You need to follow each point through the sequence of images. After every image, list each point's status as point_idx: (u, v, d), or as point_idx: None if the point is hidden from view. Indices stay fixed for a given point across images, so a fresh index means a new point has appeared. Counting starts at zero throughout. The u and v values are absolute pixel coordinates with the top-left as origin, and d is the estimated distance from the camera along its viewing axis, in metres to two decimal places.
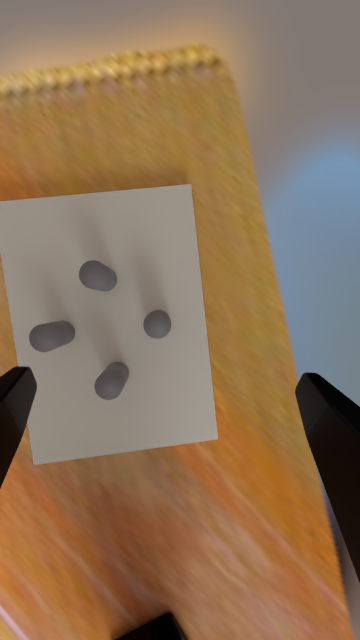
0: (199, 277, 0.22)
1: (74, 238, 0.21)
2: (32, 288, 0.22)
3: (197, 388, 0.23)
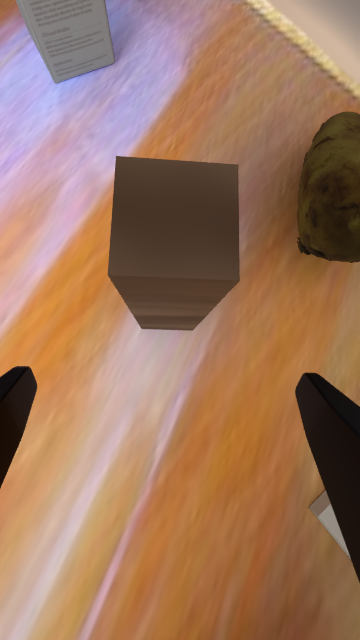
0: None
1: None
2: None
3: None
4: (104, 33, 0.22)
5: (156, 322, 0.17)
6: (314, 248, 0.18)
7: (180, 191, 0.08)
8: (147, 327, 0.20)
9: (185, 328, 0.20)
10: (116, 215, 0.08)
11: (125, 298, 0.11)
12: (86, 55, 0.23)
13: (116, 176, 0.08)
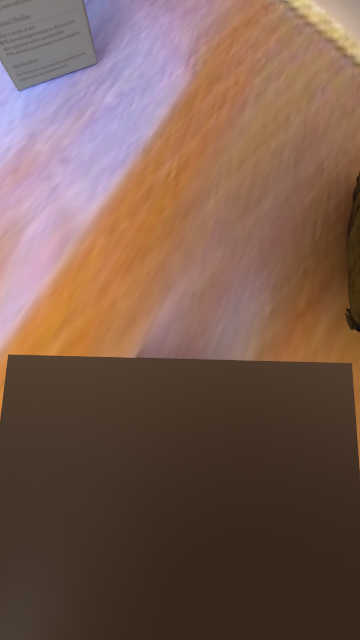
0: None
1: None
2: None
3: None
4: (80, 23, 0.16)
5: None
6: None
7: (193, 460, 0.03)
8: None
9: None
10: None
11: None
12: (57, 53, 0.17)
13: (6, 421, 0.03)
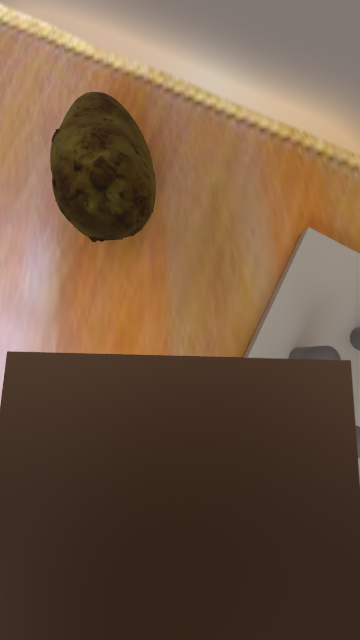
0: None
1: (355, 291, 0.23)
2: (298, 307, 0.22)
3: None
4: None
5: None
6: (93, 236, 0.19)
7: (191, 457, 0.03)
8: None
9: None
10: None
11: None
12: None
13: (4, 418, 0.03)
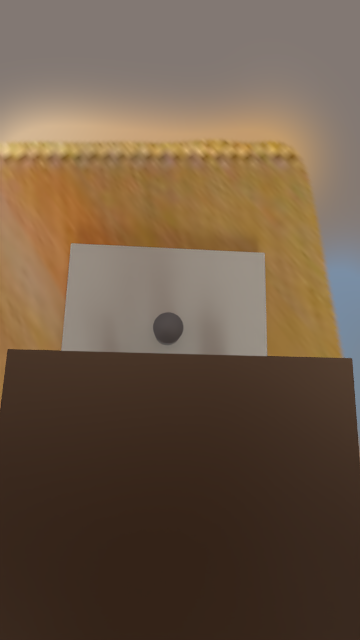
0: (265, 344, 0.21)
1: (143, 287, 0.21)
2: (90, 331, 0.20)
3: None
4: None
5: None
6: None
7: (192, 455, 0.03)
8: None
9: None
10: None
11: None
12: None
13: (5, 416, 0.03)
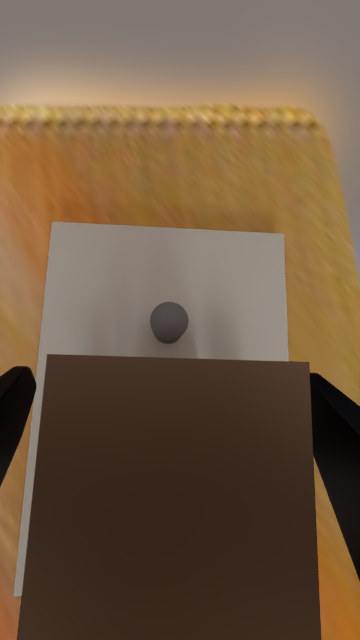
0: (286, 342, 0.17)
1: (139, 274, 0.18)
2: (75, 327, 0.17)
3: None
4: None
5: None
6: None
7: (186, 434, 0.04)
8: None
9: None
10: (41, 505, 0.04)
11: None
12: None
13: (46, 404, 0.04)
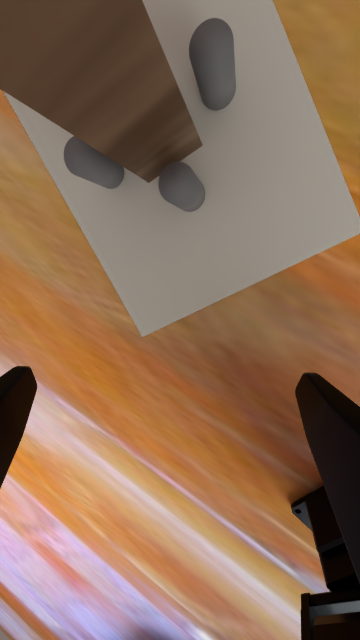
0: None
1: None
2: (59, 134, 0.18)
3: (309, 165, 0.15)
4: None
5: (144, 154, 0.13)
6: None
7: None
8: (150, 175, 0.16)
9: (190, 145, 0.15)
10: None
11: (37, 108, 0.08)
12: None
13: None
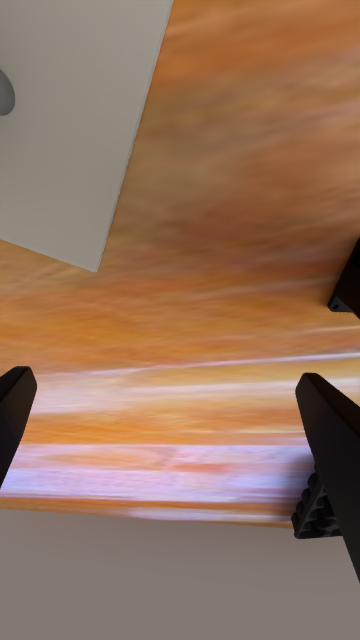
0: None
1: None
2: None
3: None
4: None
5: None
6: None
7: None
8: None
9: None
10: None
11: None
12: None
13: None
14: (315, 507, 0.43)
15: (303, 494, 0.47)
